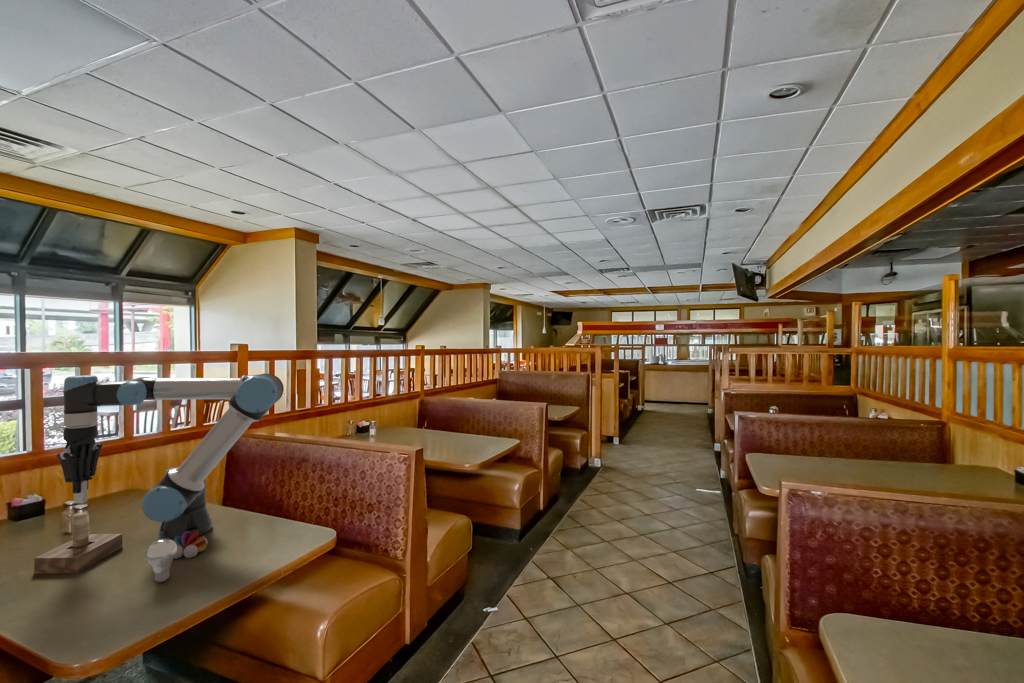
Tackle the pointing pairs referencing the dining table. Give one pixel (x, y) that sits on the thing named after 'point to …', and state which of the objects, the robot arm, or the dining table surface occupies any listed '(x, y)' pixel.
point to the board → (77, 555)
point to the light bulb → (161, 557)
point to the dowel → (80, 530)
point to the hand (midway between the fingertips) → (80, 502)
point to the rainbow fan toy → (189, 544)
